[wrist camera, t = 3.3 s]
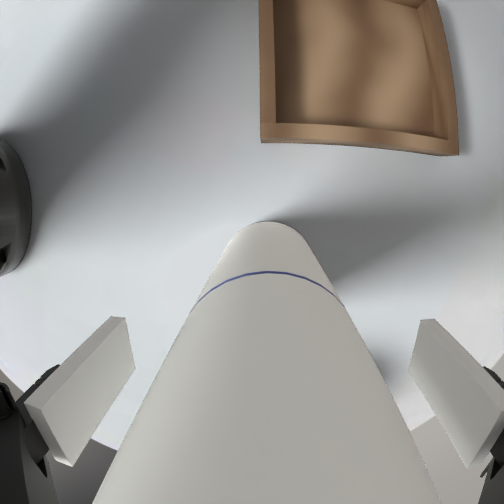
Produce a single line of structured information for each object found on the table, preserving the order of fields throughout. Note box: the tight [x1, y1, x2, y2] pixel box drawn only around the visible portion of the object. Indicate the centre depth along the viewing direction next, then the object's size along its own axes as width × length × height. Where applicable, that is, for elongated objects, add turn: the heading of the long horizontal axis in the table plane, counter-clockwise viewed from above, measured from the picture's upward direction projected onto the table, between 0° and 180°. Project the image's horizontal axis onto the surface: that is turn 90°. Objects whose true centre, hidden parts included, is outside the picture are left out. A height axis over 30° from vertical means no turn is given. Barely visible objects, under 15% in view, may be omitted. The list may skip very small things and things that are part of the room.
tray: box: [259, 0, 459, 156], centre depth 18 cm, size 15×15×3 cm
